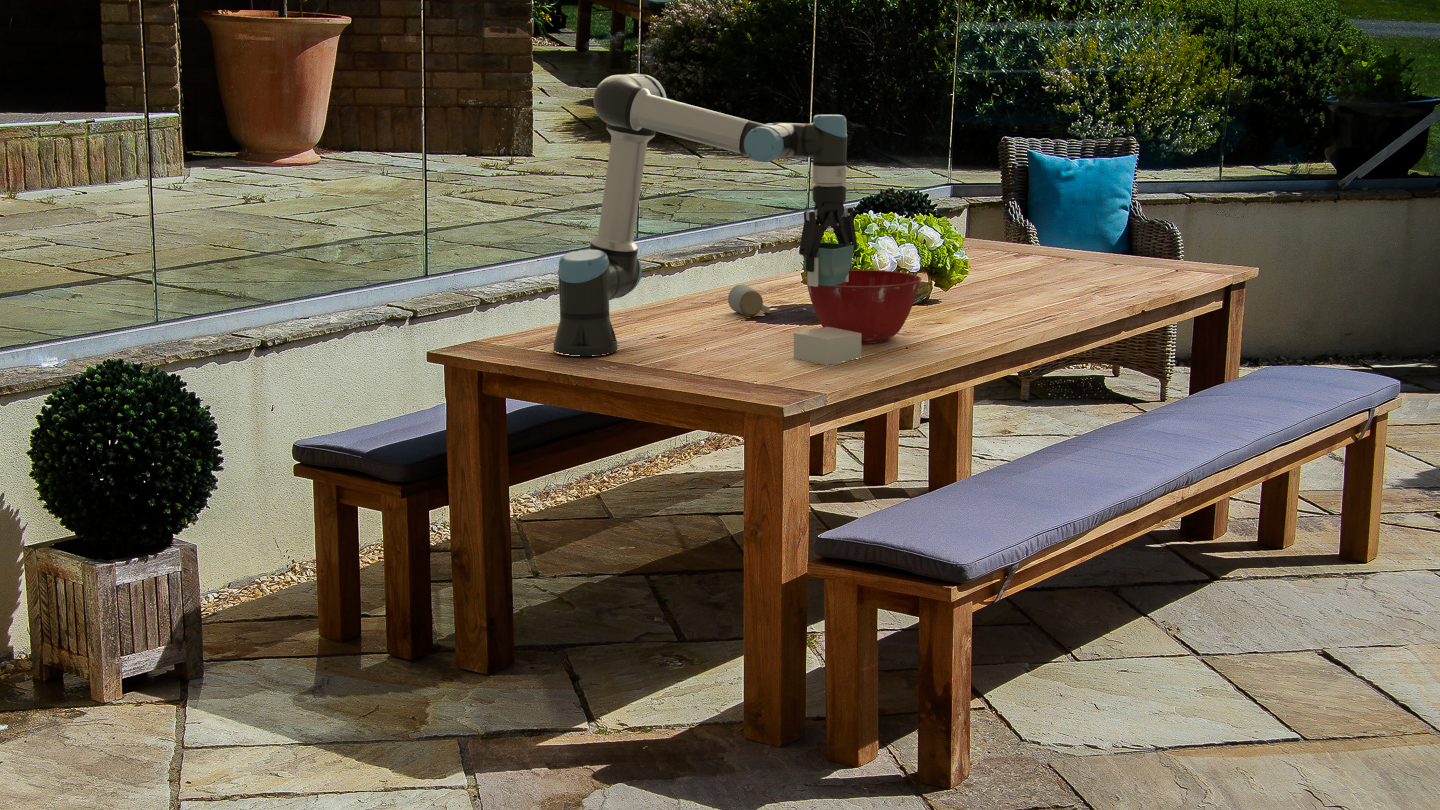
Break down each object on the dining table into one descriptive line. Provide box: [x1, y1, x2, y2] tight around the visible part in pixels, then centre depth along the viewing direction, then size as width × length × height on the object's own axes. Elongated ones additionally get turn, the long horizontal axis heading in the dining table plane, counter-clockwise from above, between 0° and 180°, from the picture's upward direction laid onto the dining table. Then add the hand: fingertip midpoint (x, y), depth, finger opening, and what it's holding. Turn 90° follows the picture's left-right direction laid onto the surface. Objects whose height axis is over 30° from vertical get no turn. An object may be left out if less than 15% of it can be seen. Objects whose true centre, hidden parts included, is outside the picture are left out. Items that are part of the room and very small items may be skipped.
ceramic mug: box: [727, 283, 771, 317], centre depth 391 cm, size 11×8×8 cm
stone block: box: [793, 327, 862, 366], centre depth 334 cm, size 11×11×6 cm
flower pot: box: [802, 241, 855, 286], centre depth 330 cm, size 9×9×9 cm
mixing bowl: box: [804, 269, 922, 344], centre depth 356 cm, size 28×28×16 cm
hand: (828, 283), depth 331 cm, fingers closed on flower pot, 9 cm apart
